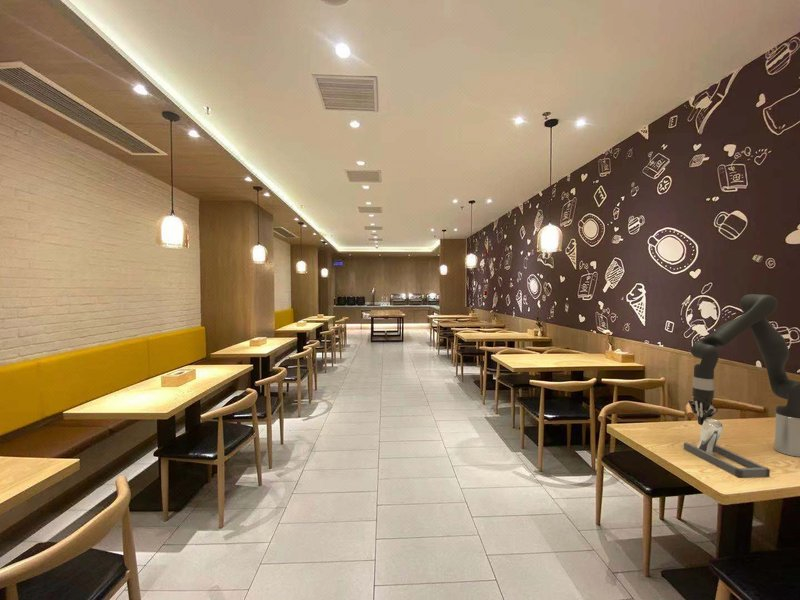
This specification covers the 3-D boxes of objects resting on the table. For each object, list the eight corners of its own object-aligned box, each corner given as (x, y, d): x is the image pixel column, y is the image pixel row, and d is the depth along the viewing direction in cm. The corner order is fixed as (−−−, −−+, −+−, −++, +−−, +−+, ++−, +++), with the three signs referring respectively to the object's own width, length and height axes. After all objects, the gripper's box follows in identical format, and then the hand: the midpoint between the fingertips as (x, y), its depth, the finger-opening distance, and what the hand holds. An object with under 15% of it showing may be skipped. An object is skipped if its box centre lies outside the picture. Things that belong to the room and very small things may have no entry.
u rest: (709, 448, 169) (710, 441, 169) (769, 476, 143) (769, 469, 143) (683, 448, 168) (683, 442, 168) (739, 477, 142) (739, 470, 142)
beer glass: (707, 457, 160) (716, 428, 156) (691, 447, 166) (699, 418, 162) (718, 454, 162) (728, 426, 158) (702, 444, 168) (711, 416, 164)
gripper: (724, 391, 159) (723, 430, 159) (698, 383, 172) (696, 419, 173) (708, 391, 158) (707, 430, 159) (683, 383, 172) (682, 419, 172)
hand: (701, 424), depth 166 cm, fingers closed
